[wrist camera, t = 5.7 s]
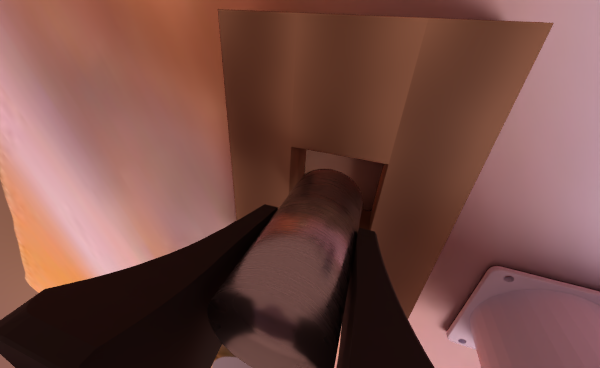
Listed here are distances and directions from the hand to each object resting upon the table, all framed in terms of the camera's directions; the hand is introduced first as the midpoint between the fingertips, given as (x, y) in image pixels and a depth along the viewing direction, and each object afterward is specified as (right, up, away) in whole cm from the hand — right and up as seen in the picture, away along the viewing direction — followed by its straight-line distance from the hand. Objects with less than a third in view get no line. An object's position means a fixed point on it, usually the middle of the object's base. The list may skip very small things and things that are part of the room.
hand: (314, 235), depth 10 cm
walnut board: (+2, +3, +5) cm, 6 cm away
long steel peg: (+1, +1, +2) cm, 2 cm away
